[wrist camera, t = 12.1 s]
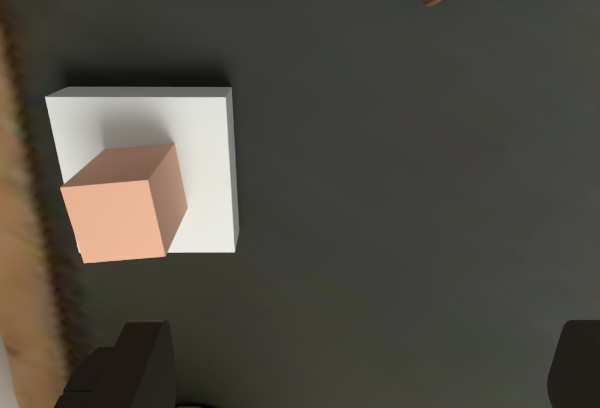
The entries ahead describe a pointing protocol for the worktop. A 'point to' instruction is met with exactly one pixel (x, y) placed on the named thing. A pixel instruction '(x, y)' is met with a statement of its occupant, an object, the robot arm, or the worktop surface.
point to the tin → (430, 2)
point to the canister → (190, 407)
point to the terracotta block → (126, 203)
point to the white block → (155, 131)
